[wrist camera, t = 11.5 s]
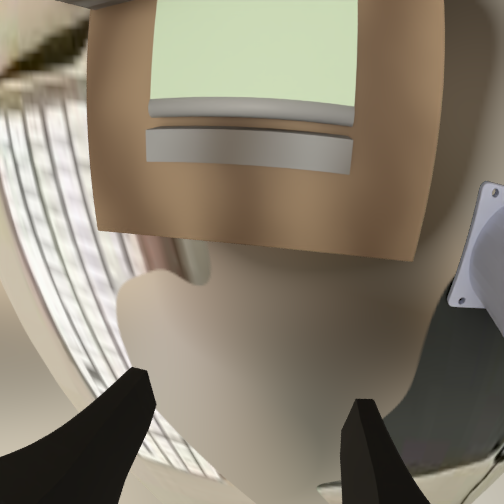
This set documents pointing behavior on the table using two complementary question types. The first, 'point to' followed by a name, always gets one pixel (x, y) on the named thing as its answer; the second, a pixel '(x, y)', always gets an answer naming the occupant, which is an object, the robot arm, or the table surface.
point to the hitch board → (270, 145)
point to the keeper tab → (255, 59)
